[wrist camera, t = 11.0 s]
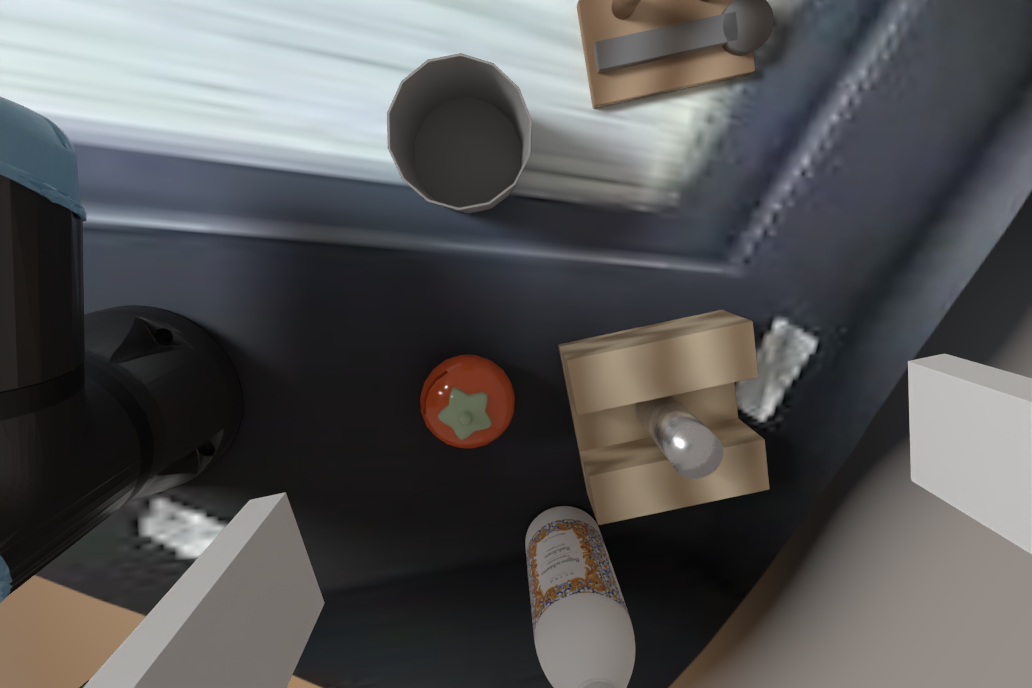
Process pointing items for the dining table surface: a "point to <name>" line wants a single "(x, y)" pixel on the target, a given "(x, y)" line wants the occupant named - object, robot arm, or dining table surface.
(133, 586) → the dining table surface
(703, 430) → the pin
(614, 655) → the bath foam
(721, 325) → the slot block
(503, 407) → the tomato
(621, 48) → the peg rack
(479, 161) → the cup
